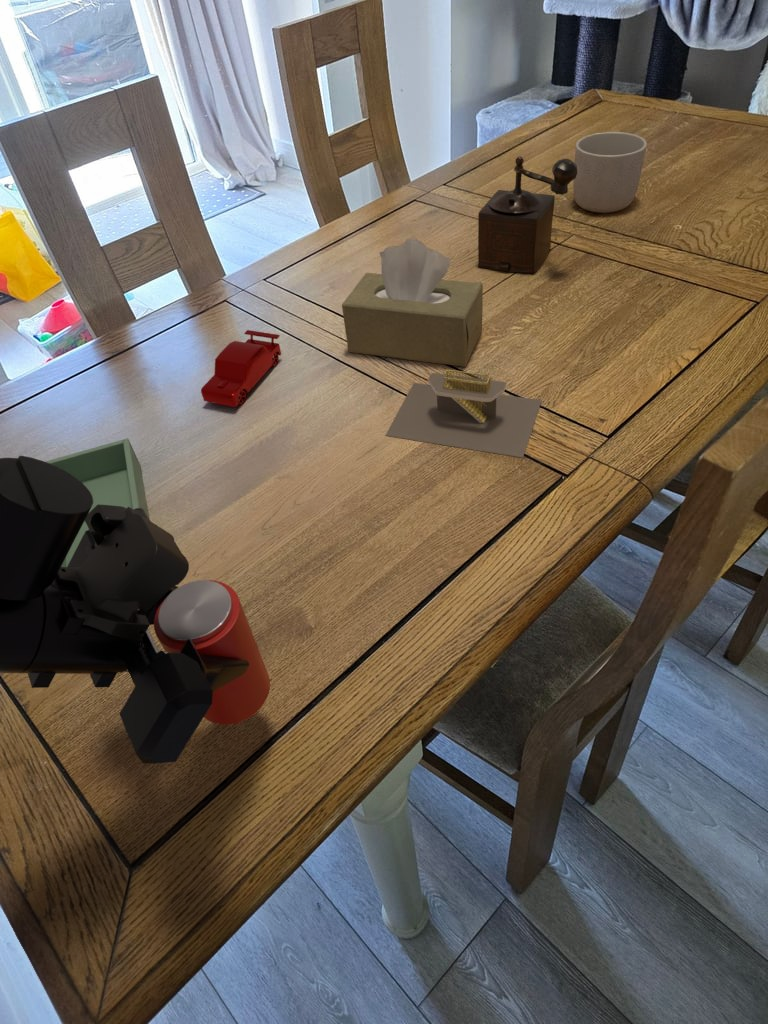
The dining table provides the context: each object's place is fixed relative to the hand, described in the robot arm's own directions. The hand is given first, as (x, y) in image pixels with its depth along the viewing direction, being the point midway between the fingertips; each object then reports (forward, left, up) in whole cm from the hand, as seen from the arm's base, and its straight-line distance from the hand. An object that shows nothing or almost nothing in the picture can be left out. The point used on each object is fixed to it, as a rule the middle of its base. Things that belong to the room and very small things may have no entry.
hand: (228, 638), depth 55 cm
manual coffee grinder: (+63, +67, -13) cm, 93 cm away
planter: (+86, +80, -13) cm, 118 cm away
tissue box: (+36, +52, -13) cm, 64 cm away
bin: (-12, +31, -13) cm, 35 cm away
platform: (+35, +32, -13) cm, 49 cm away
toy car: (+10, +54, -13) cm, 56 cm away
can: (-1, 0, -7) cm, 7 cm away
